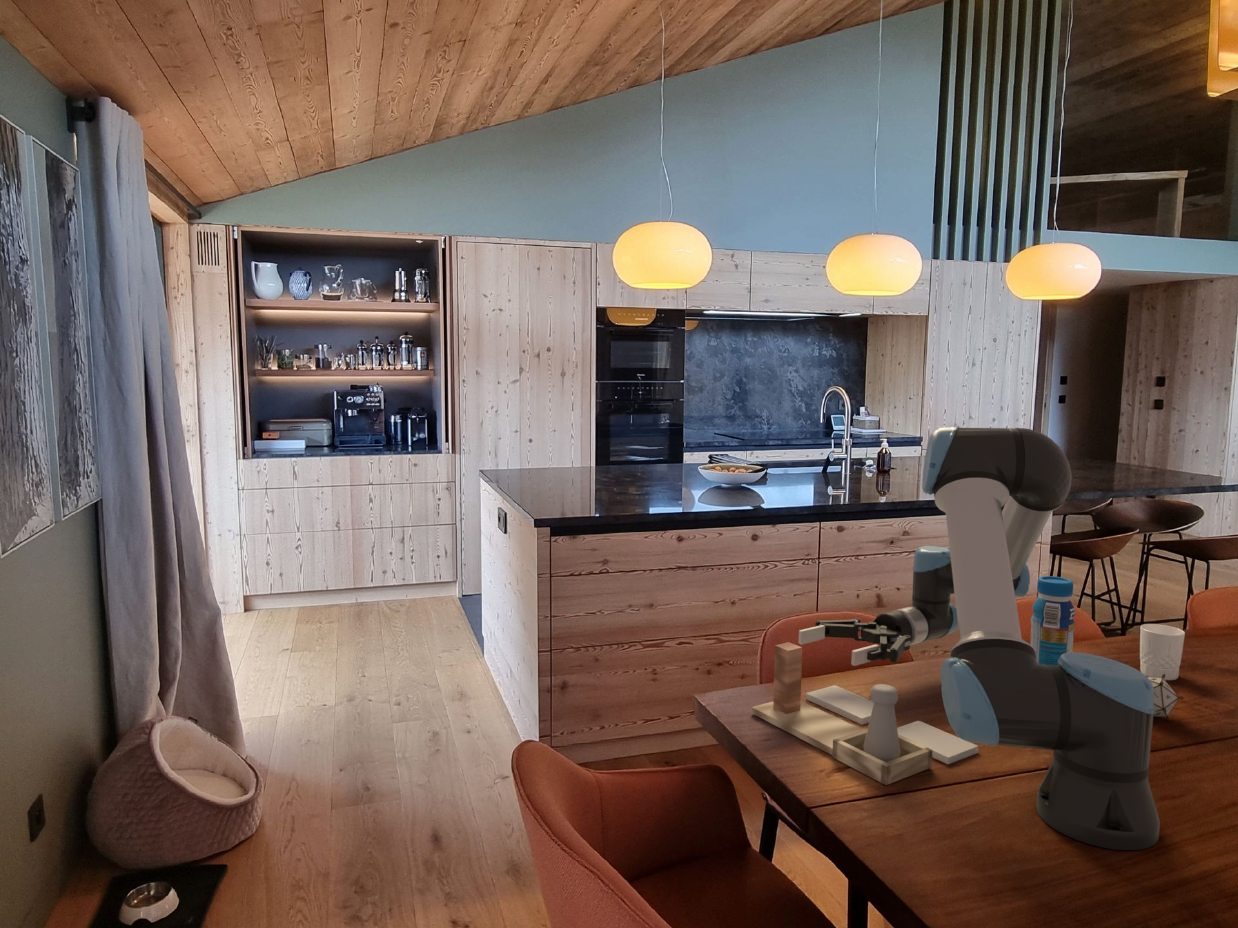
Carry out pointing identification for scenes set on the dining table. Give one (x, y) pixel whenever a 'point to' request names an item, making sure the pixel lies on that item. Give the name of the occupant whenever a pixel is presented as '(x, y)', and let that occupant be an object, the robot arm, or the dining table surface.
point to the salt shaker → (883, 724)
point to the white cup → (1160, 650)
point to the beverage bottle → (1052, 620)
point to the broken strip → (861, 709)
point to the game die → (1163, 697)
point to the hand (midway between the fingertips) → (825, 647)
